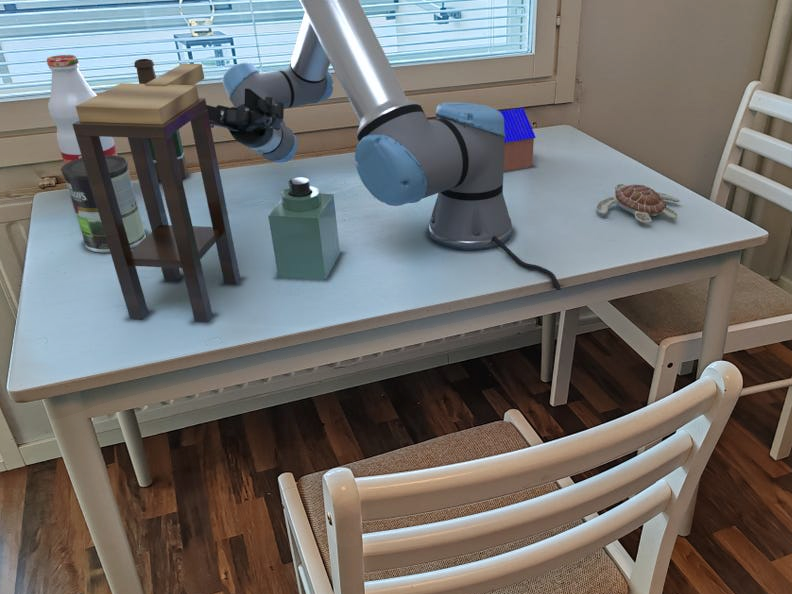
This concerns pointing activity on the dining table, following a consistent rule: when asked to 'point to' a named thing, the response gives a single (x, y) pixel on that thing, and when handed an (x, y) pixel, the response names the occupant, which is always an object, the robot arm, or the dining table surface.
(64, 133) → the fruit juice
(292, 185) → the black bottle cap
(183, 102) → the cutting board
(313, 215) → the soap bottle
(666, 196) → the decorative turtle
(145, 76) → the beer bottle
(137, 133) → the plant stand
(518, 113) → the house
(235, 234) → the dining table surface
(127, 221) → the coffee can
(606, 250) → the dining table surface
